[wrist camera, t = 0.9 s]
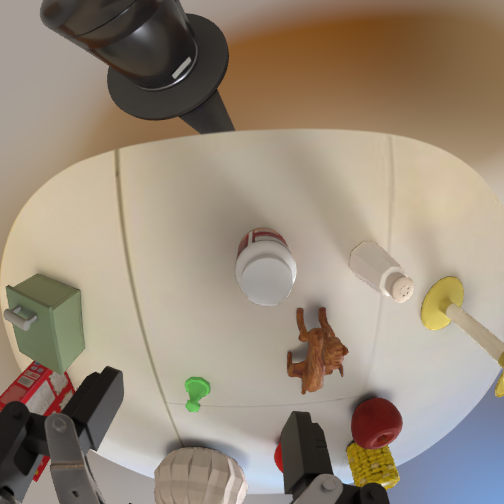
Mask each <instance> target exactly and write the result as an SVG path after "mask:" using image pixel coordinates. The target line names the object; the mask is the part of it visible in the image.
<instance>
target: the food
mask: <svg viewBox="0 0 504 504" xmlns="http://www.w3.org/2000/svg"><path fill="white" fill-rule="evenodd" d="M346 453H348V454H347V456H348V460H349V462H348V463H349V465H350V468H351V471H352V476H353V477H354V478H353V480H354V483H355V485H356V486H358V487H363V486H364V485H365V484H367V483H371V482H375V483H379V484H381V485H382V486H383V487H384V488H385V489H386V490H387V489H388V488H392V487H393V486H394V485H396V484H397V482H398V481H399V480H400V477H399V474H398V472H397V469H396V465H395V463H394V459H393V458H392V456H391V452H390V450H389V447H388V446H387V445H386V446H384V447H381V448H378V449H373V450H370V449H364V448H362V447H360V446H358V445H357V444H356V443H353V444H351V445H350V446H348V448H347V450H346Z"/></svg>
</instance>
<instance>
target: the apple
mask: <svg viewBox="0 0 504 504" xmlns="http://www.w3.org/2000/svg"><path fill="white" fill-rule="evenodd" d="M402 425H403V422H402V417H401V414H400V412H399V411H398V409H397V408H396V407H395V406H394V405H393V404H392V403H391V402H390V401H388V400H386V399H383V398H372V399H369V400H366V401H364V402H363V403H361V404H360V405H359V406H358V407H357V408H356V409H355V411H354V413H353V416H352V421H351V432H352V437H353V440H354V441H355V443H356V444H357V445H358V446H360V447H362V448H364V449H370V450H373V449H378V448H381V447H384V446H386V445H388V444H389V443H391V442H392V441H393V440H395V439H396V438H397V436H398V435H399V433H400V432H401V429H402Z"/></svg>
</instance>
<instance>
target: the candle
mask: <svg viewBox="0 0 504 504" xmlns="http://www.w3.org/2000/svg"><path fill="white" fill-rule="evenodd" d="M463 296H464V290H463V286H462V283H461V282H460V281H459V280H458V279H457V278H456V277H450V276H448V277H445V278H443V279H440V280H439V281H438V282H437V283H436V284H435V285H433V286H432V287H431V289H430V291H429V292H428V294H427V295H426V297H425V299H424V302H423V305H422V308H421V320H422V322H423V325H424V326H425V327H427V328H428V329H430V330H439V329H441V328H443V327H445V326H447V325H448V324H449V323H450V322H451V321H453V322H454V323H455V324H456V325H457V326H458V327H460V328H461V329H462V330H463V331H464V332H465V333H466V334H467V335H468V336H470V337H471V338H472V339H473V340H474V341H475V342H476V343H477V344H478V345H479V346H480V347H482V348H483V349H484V350H485V351H486V352H487V353H488V354H489V355H490V356H491V357H492V358H493V359H494V360H495V361H496V362H497V363H498V364H499V365H500V366H501V367H502V368H503V369H504V343H503V342H502V341H501V340H499V339H498V338H497V337H496V336H495V335H494V334H492V333H491V332H490V331H489V330H488V329H486V328H485V327H484V326H483V325H481V324H480V323H479V322H478V321H476V320H475V319H474V318H473V317H471V316H470V315H469V314H468V313H466V312H465V311H464V310H462V309H461V305H462V302H463ZM495 395H496V396H497V397H502V396H504V371H503V372H502V374H501V376H500V378H499V380H498V383H497V385H496V387H495Z"/></svg>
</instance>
